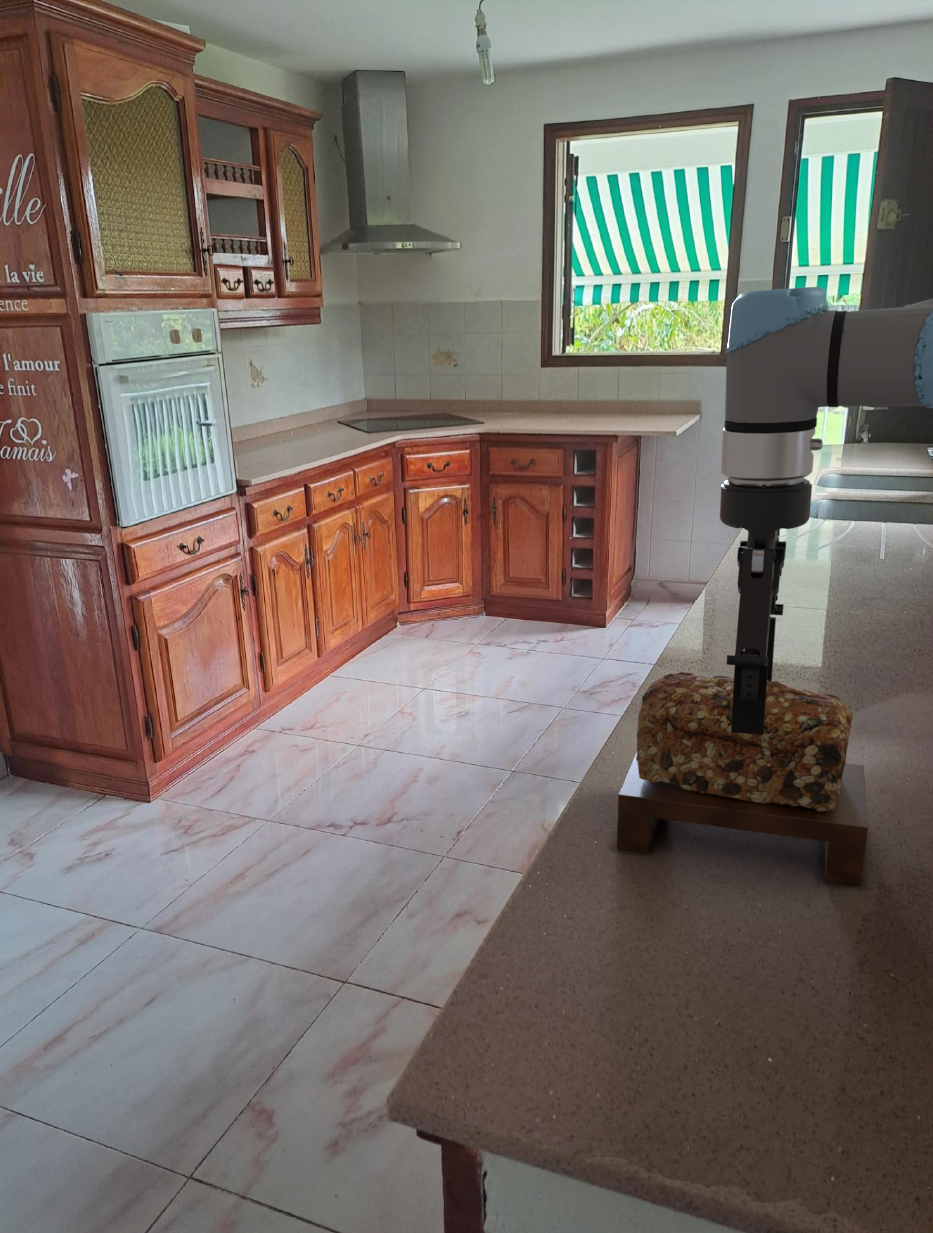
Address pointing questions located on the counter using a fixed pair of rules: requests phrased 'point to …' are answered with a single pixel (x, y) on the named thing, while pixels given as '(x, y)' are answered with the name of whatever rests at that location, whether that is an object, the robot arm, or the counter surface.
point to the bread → (743, 742)
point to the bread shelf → (751, 818)
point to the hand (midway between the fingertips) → (752, 704)
